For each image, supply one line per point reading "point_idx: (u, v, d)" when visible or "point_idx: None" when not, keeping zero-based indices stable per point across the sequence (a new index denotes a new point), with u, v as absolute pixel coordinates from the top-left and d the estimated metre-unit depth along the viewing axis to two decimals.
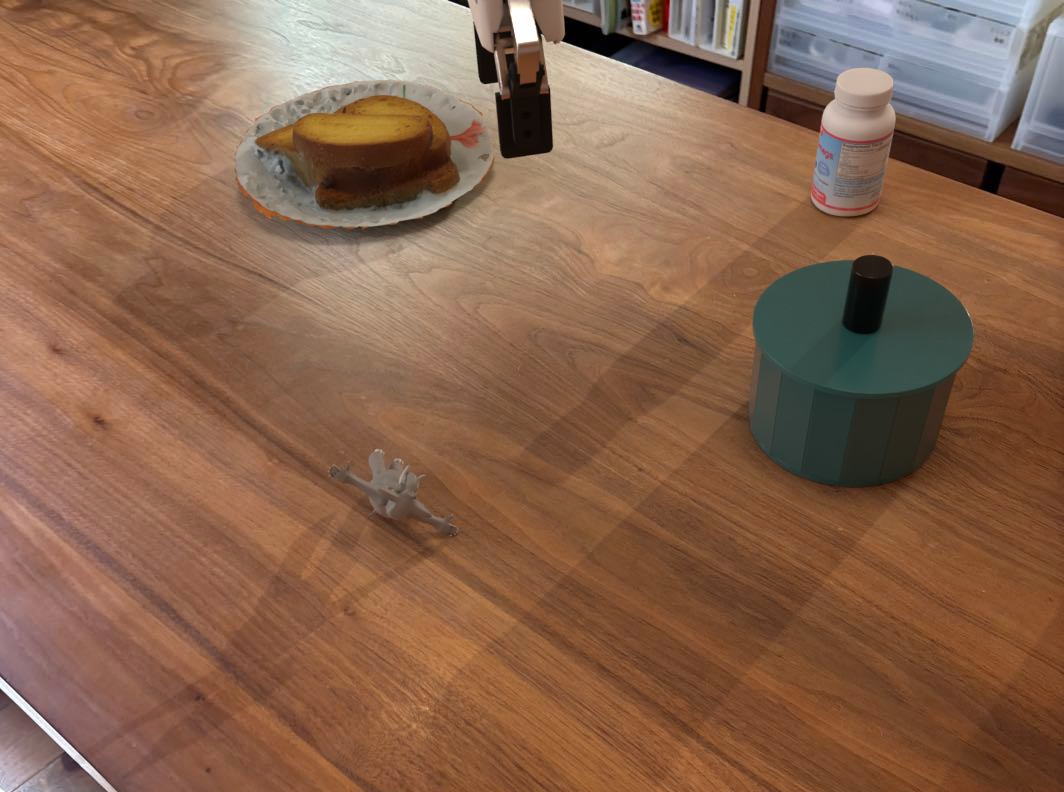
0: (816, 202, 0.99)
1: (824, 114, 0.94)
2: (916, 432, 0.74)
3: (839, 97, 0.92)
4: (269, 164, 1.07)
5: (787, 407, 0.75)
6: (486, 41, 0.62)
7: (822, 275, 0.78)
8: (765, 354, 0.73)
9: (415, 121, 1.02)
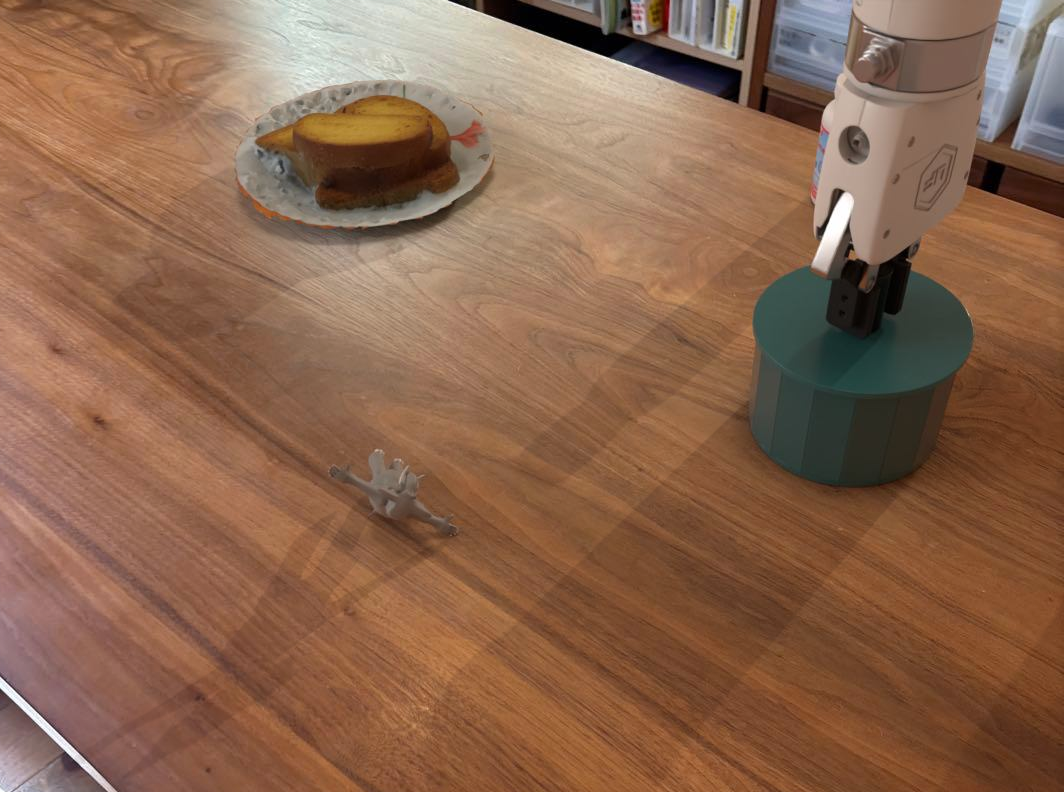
0: None
1: (824, 114, 0.94)
2: (916, 432, 0.74)
3: None
4: (269, 164, 1.07)
5: (787, 407, 0.75)
6: None
7: None
8: (765, 354, 0.73)
9: (415, 121, 1.02)
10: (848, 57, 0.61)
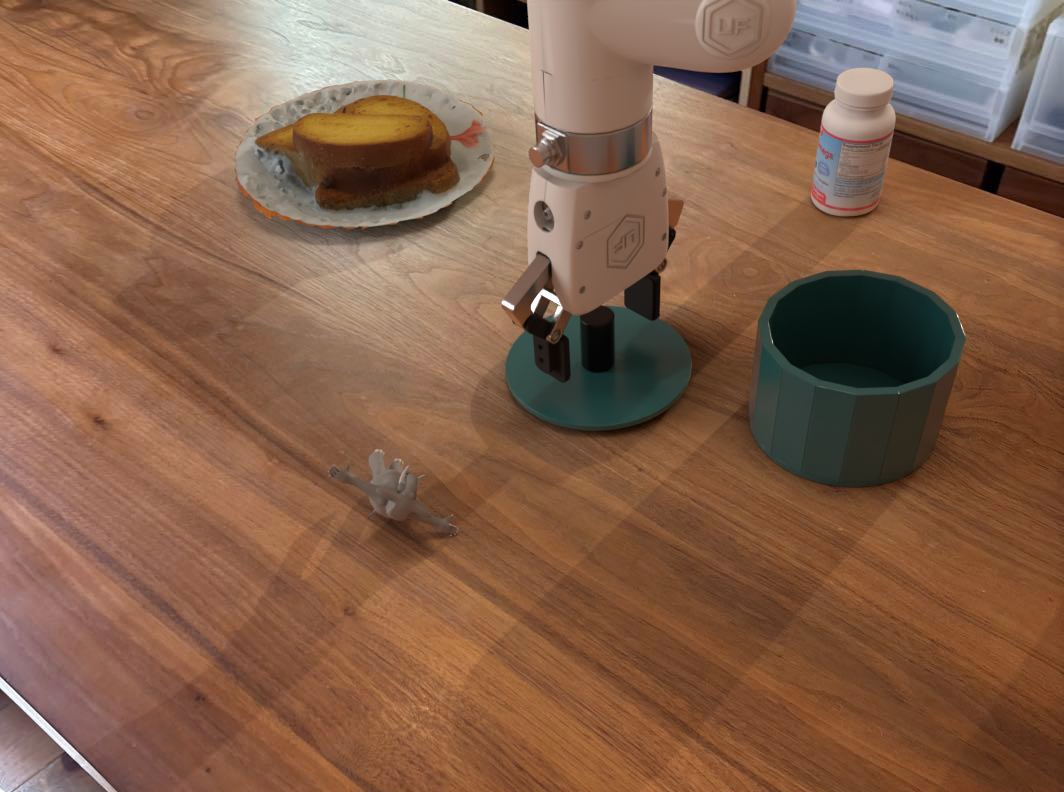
0: (816, 202, 0.99)
1: (824, 114, 0.94)
2: (916, 432, 0.74)
3: (839, 97, 0.92)
4: (269, 164, 1.07)
5: (787, 407, 0.75)
6: None
7: (574, 319, 0.90)
8: (511, 390, 0.85)
9: (415, 121, 1.02)
10: (536, 143, 0.72)
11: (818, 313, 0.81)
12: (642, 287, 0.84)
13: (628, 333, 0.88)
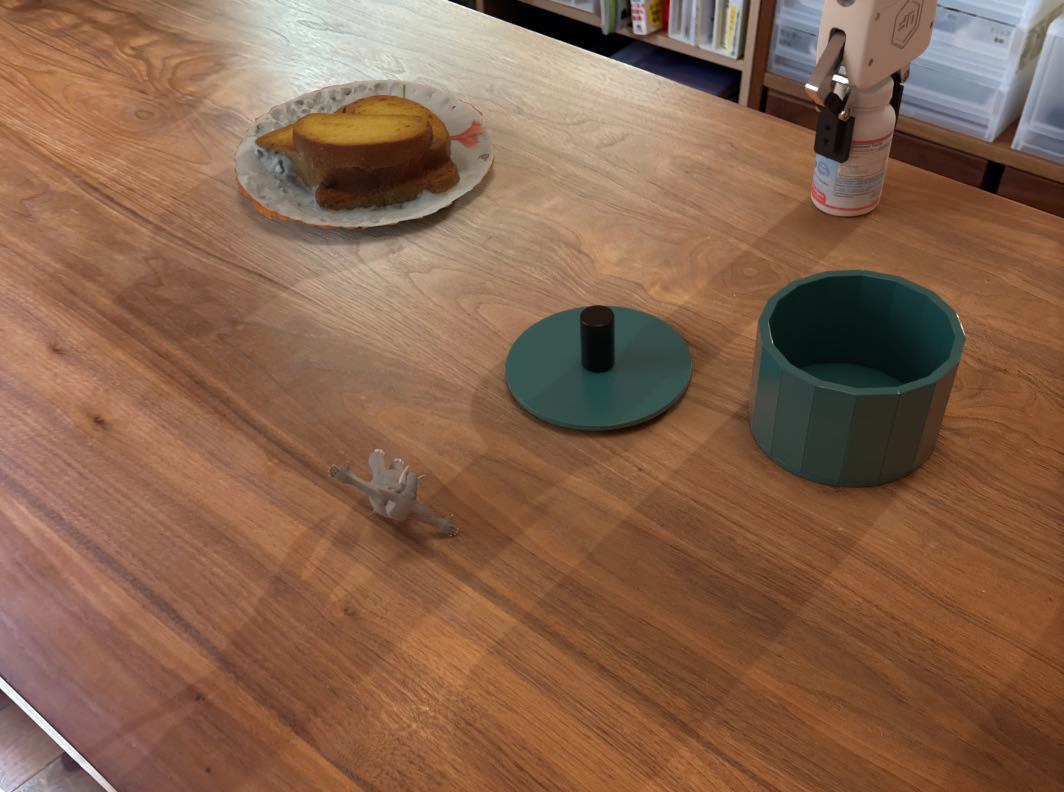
0: (816, 202, 0.99)
1: None
2: (916, 432, 0.74)
3: None
4: (269, 164, 1.07)
5: (787, 407, 0.75)
6: (816, 64, 0.89)
7: (574, 319, 0.90)
8: (511, 390, 0.85)
9: (415, 121, 1.02)
10: None
11: (818, 313, 0.81)
12: None
13: (628, 333, 0.88)
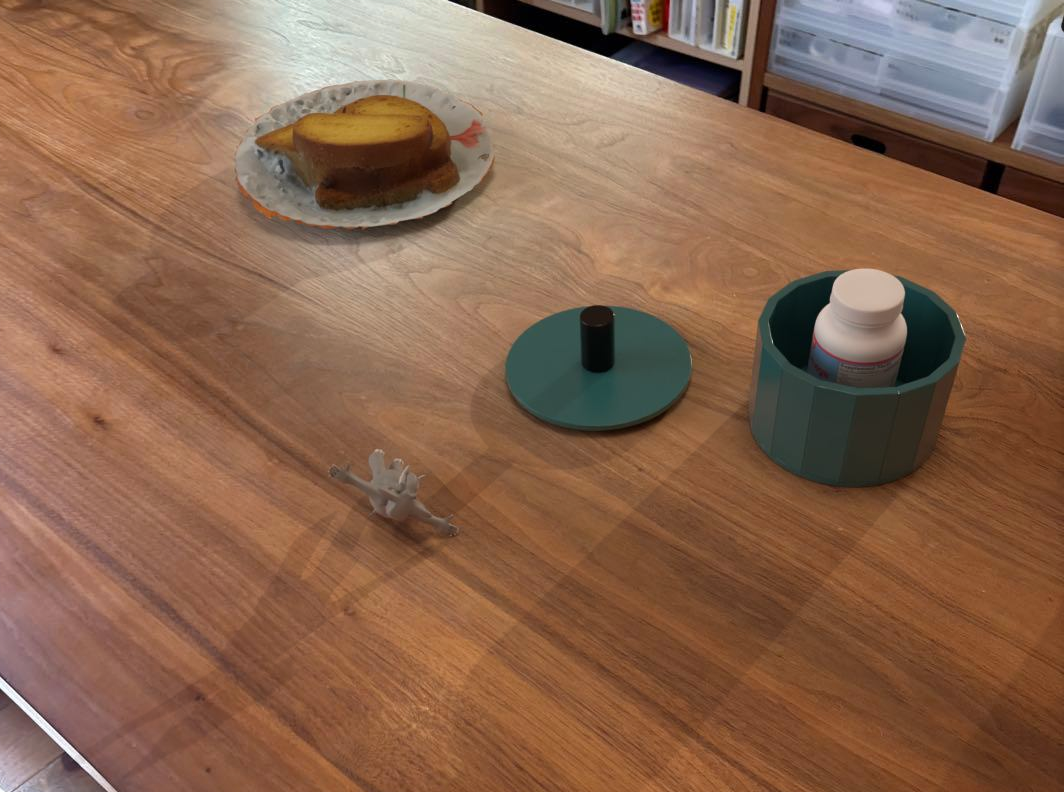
0: None
1: (817, 324, 0.75)
2: (916, 432, 0.74)
3: (836, 310, 0.73)
4: (269, 164, 1.07)
5: (787, 407, 0.75)
6: None
7: (574, 319, 0.90)
8: (511, 390, 0.85)
9: (415, 121, 1.02)
10: None
11: (818, 313, 0.81)
12: None
13: (628, 333, 0.88)
